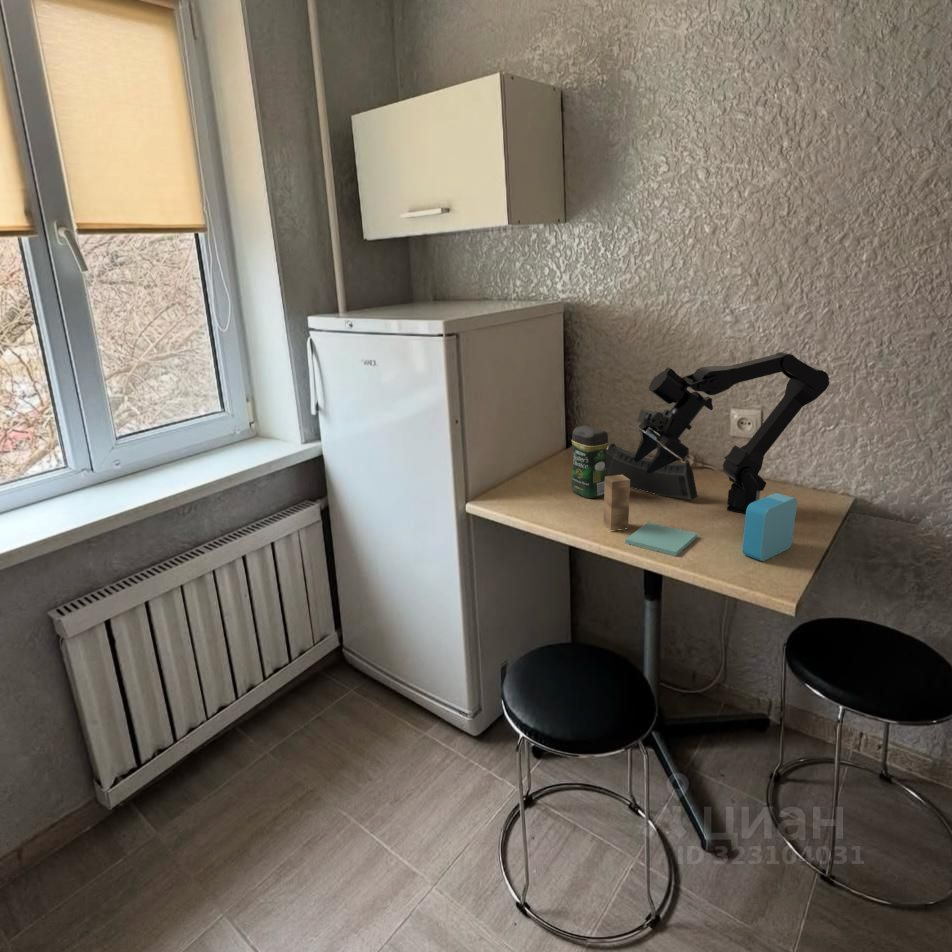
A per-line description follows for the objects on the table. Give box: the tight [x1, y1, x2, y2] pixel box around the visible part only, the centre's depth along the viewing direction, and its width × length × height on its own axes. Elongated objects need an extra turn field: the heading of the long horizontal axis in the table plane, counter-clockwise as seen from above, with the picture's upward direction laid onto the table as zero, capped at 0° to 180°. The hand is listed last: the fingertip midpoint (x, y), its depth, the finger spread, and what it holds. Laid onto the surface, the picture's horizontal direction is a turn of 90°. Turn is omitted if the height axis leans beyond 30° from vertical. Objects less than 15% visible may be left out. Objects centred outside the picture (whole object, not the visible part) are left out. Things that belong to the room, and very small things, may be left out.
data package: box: [741, 492, 798, 562], centre depth 140 cm, size 12×4×12 cm, turn 125°
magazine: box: [606, 442, 698, 500], centre depth 179 cm, size 17×3×30 cm
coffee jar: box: [570, 424, 609, 499], centre depth 177 cm, size 10×8×19 cm
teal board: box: [624, 521, 698, 557], centre depth 150 cm, size 12×12×1 cm
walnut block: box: [603, 475, 631, 531], centre depth 156 cm, size 4×4×12 cm
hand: (641, 466), depth 159 cm, fingers open, 9 cm apart
